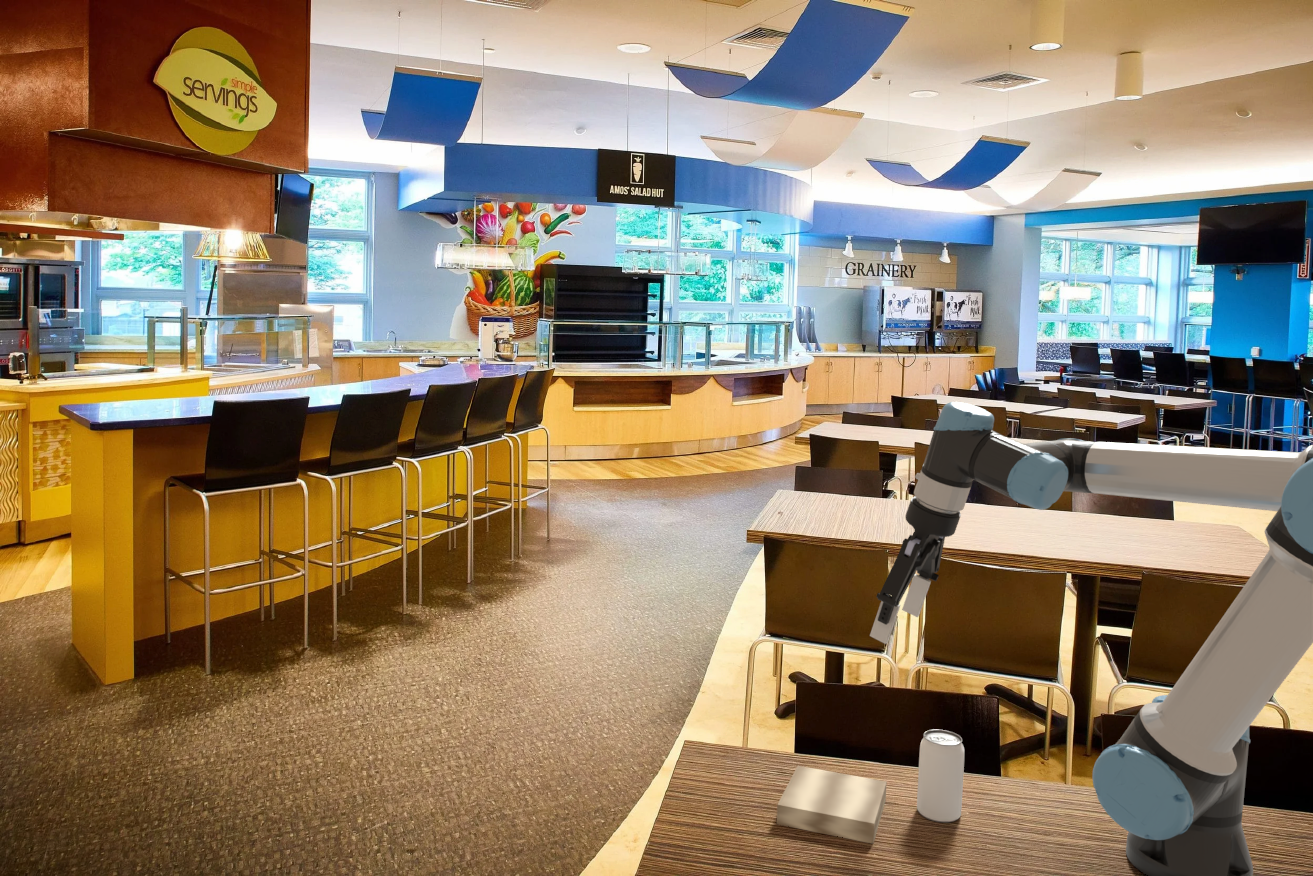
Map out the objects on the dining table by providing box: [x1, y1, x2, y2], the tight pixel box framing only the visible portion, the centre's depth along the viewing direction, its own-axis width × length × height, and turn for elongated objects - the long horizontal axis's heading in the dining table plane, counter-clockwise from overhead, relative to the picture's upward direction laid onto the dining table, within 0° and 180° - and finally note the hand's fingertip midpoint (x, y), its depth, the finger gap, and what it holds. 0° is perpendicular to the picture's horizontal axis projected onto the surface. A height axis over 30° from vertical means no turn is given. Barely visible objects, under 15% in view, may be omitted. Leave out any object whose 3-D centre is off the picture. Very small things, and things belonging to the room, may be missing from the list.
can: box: [916, 729, 965, 824], centre depth 142 cm, size 6×6×12 cm
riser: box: [776, 765, 887, 844], centre depth 142 cm, size 14×14×3 cm
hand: (895, 625), depth 147 cm, fingers open, 13 cm apart
